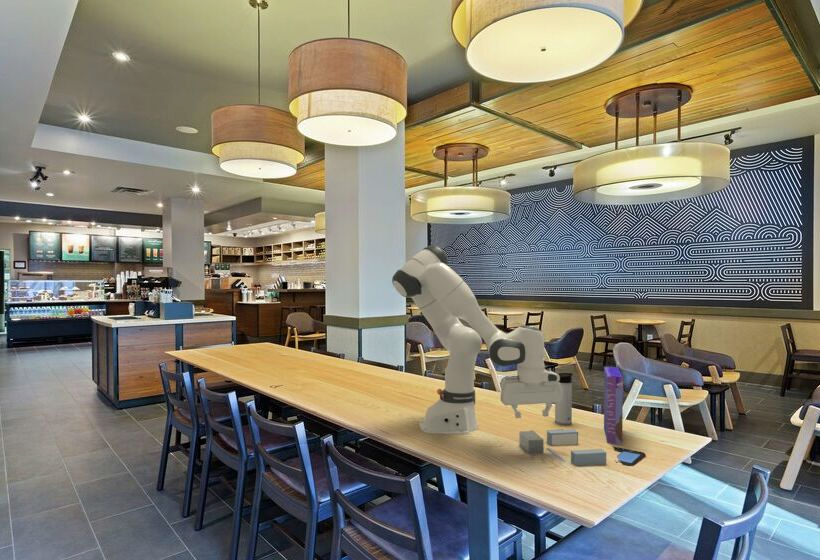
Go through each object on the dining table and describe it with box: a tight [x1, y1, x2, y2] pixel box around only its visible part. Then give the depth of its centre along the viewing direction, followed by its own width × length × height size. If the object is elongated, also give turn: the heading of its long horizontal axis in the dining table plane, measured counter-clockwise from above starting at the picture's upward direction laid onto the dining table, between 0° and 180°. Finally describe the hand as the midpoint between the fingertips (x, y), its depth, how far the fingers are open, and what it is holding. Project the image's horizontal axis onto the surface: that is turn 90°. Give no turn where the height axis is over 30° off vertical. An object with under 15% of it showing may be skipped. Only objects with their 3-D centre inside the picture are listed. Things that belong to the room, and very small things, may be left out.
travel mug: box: [554, 372, 574, 426], centre depth 175 cm, size 6×7×20 cm
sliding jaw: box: [546, 428, 579, 446], centre depth 154 cm, size 10×7×5 cm
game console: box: [611, 445, 647, 467], centre depth 142 cm, size 14×13×2 cm
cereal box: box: [603, 365, 624, 445], centre depth 161 cm, size 17×5×24 cm, turn 160°
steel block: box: [518, 430, 544, 455], centre depth 146 cm, size 5×8×6 cm, turn 7°
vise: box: [547, 447, 607, 466], centre depth 141 cm, size 12×14×5 cm
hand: (531, 416), depth 146 cm, fingers open, 8 cm apart
